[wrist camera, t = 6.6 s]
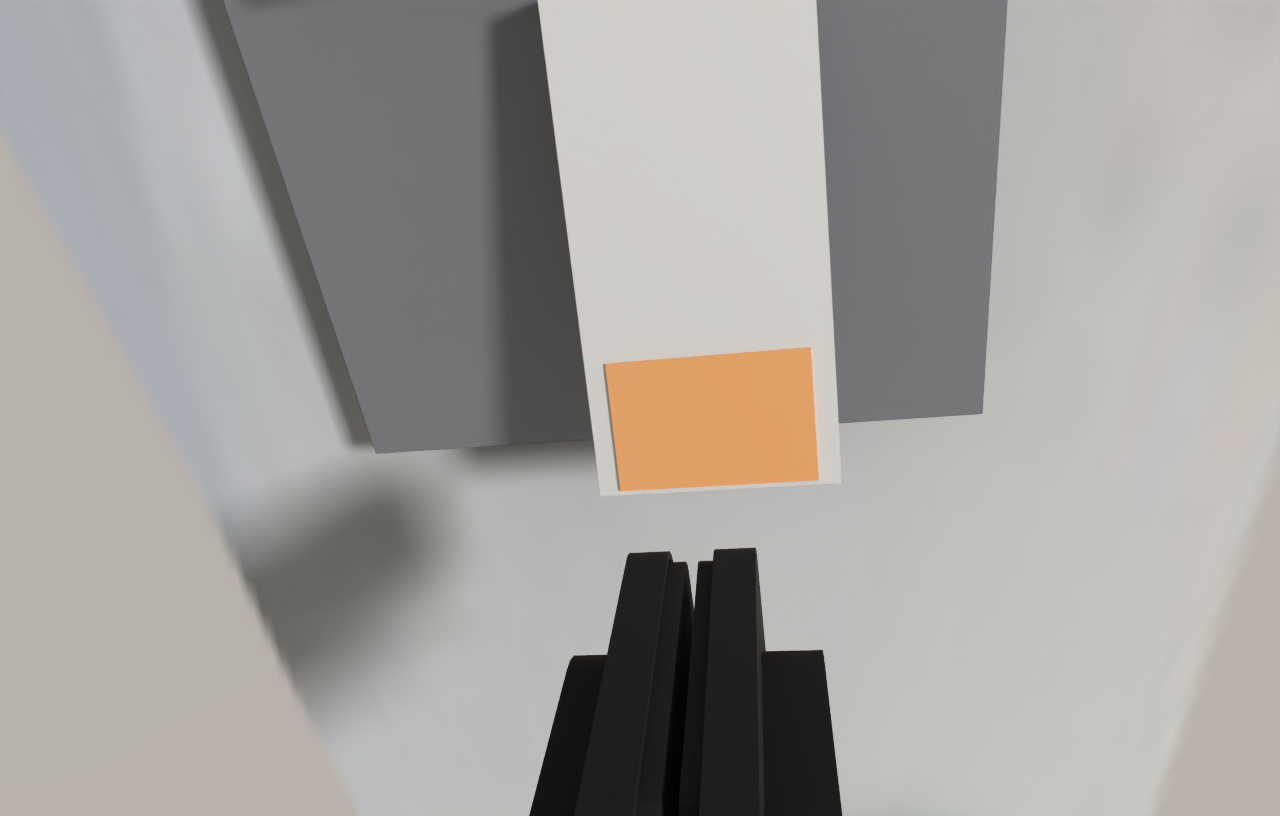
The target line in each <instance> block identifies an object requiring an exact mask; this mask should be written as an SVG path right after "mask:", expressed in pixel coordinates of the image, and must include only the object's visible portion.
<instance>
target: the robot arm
mask: <svg viewBox="0 0 1280 816" xmlns="http://www.w3.org/2000/svg"><path fill="white" fill-rule="evenodd" d="M529 816H842V810H841V801H840V792H839V784H838V775H837V766H836V758H835V749H834V740H833V732H832V723H831V714H830V706H829V697H828V688H827V680H826V671H825V663H824V655H823V650H809V651H766V650H765V639H764V628H763V617H762V606H761V595H760V584H759V573H758V562H757V553H756V548H739V549H715V550H714V556H713V561H699V563H698V571H697V583H696V596H695V608H694V606H693V599H692V592H691V585H690V578H689V570H688V565H687V563H686V562H673V559H672V555H671V553H670V552H669V551H668V552H645V553H629V554H628V557H627V560H626V565H625V570H624V575H623V580H622V585H621V589H620V594H619V599H618V604H617V609H616V614H615V619H614V624H613V629H612V633H611V638H610V643H609V648H608V653H607V655H582V656H573V658H572V659H571V660H570V663H569V666H568V668H567V672H566V676H565V680H564V683H563V687H562V691H561V695H560V699H559V703H558V707H557V711H556V714H555V718H554V722H553V726H552V730H551V734H550V738H549V741H548V745H547V749H546V753H545V757H544V761H543V765H542V769H541V772H540V776H539V780H538V784H537V788H536V792H535V796H534V800H533V803H532V807H531V811H530V815H529Z"/></svg>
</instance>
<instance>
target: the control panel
mask: <svg viewBox="0 0 1280 816" xmlns="http://www.w3.org/2000/svg"><path fill="white" fill-rule="evenodd" d="M223 2H224V4H225V7H226V10H227V13H228V16H229V19H230V22H231V25H232V28H233V31H234V34H235V37H236V40H237V43H238V46H239V49H240V52H241V55H242V58H243V61H244V64H245V67H246V70H247V73H248V76H249V79H250V82H251V85H252V87H253V90H254V93H255V96H256V99H257V102H258V105H259V108H260V111H261V114H262V117H263V120H264V123H265V126H266V129H267V132H268V135H269V138H270V141H271V144H272V147H273V150H274V153H275V156H276V159H277V162H278V165H279V167H280V170H281V173H282V176H283V179H284V182H285V185H286V188H287V191H288V194H289V197H290V200H291V203H292V206H293V209H294V212H295V215H296V218H297V221H298V224H299V227H300V230H301V233H302V236H303V239H304V242H305V245H306V247H307V250H308V253H309V256H310V259H311V262H312V265H313V268H314V271H315V274H316V277H317V280H318V283H319V286H320V289H321V292H322V295H323V298H324V301H325V304H326V307H327V310H328V313H329V316H330V319H331V322H332V325H333V328H334V330H335V333H336V336H337V339H338V342H339V345H340V348H341V351H342V354H343V357H344V360H345V363H346V366H347V369H348V372H349V375H350V378H351V381H352V384H353V387H354V390H355V393H356V396H357V399H358V402H359V405H360V408H361V410H362V413H363V416H364V419H365V422H366V425H367V428H368V431H369V434H370V437H371V440H372V443H373V446H374V449H375V452H376V454H377V453H393V452H408V451H423V450H438V449H454V448H469V447H484V446H499V445H515V444H530V443H545V442H560V441H576V440H591V439H593V432H592V424H591V416H590V408H589V400H588V392H587V384H586V377H585V369H584V361H583V353H582V345H581V337H580V329H579V321H578V314H577V306H576V298H575V290H574V282H573V274H572V266H571V259H570V251H569V243H568V235H567V227H566V219H565V211H564V203H563V196H562V188H561V180H560V172H559V164H558V156H557V148H556V141H555V133H554V125H553V117H552V109H551V101H550V93H549V85H548V78H547V70H546V62H545V54H544V46H543V38H542V30H541V22H540V15H539V7H538V0H223ZM816 4H817V23H818V42H819V61H820V80H821V99H822V118H823V137H824V155H825V174H826V193H827V212H828V231H829V250H830V269H831V288H832V307H833V326H834V345H835V364H836V382H837V401H838V420H839V423H850V422H865V421H881V420H896V419H911V418H926V417H942V416H957V415H972V414H982V411H983V395H984V378H985V362H986V345H987V329H988V312H989V296H990V280H991V263H992V247H993V230H994V214H995V197H996V181H997V165H998V148H999V132H1000V115H1001V99H1002V82H1003V66H1004V50H1005V33H1006V17H1007V0H816Z"/></svg>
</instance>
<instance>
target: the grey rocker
mask: <svg viewBox="0 0 1280 816" xmlns="http://www.w3.org/2000/svg"><path fill="white" fill-rule="evenodd" d="M538 7H539V15H540V22H541V30H542V38H543V46H544V54H545V62H546V70H547V78H548V85H549V93H550V101H551V109H552V117H553V125H554V133H555V141H556V148H557V156H558V164H559V172H560V180H561V188H562V196H563V203H564V211H565V219H566V227H567V235H568V243H569V251H570V259H571V266H572V274H573V282H574V290H575V298H576V306H577V314H578V321H579V329H580V337H581V345H582V353H583V361H584V369H585V377H586V384H587V392H588V400H589V408H590V416H591V424H592V432H593V440H594V447H595V455H596V463H597V471H598V479H599V487H600V495H601V496H613V495H631V494H650V493H668V492H687V491H705V490H724V489H742V488H761V487H779V486H798V485H816V484H835V483H842V477H841V458H840V439H839V420H838V401H837V382H836V364H835V345H834V326H833V307H832V288H831V269H830V250H829V231H828V212H827V193H826V174H825V155H824V137H823V118H822V99H821V80H820V61H819V42H818V23H817V4H816V0H538Z"/></svg>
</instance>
